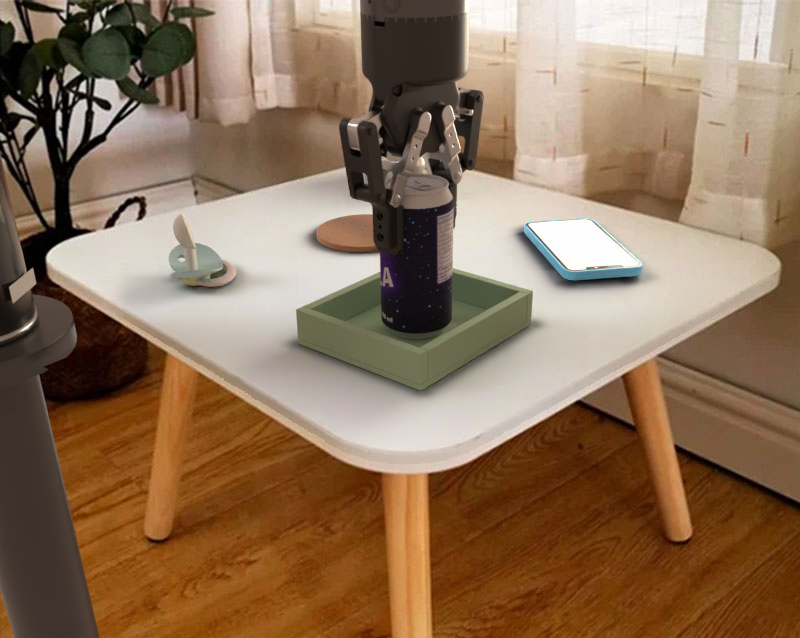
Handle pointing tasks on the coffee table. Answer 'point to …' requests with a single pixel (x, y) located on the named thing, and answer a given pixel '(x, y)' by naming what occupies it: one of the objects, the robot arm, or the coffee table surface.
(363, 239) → the coaster
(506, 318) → the tray
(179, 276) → the pacifier
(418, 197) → the beverage can
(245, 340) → the coffee table surface
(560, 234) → the smartphone
